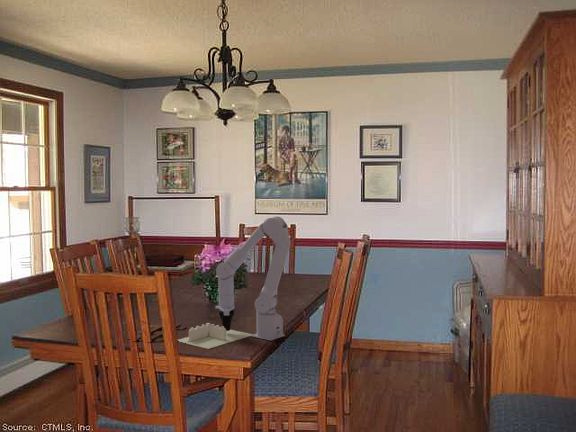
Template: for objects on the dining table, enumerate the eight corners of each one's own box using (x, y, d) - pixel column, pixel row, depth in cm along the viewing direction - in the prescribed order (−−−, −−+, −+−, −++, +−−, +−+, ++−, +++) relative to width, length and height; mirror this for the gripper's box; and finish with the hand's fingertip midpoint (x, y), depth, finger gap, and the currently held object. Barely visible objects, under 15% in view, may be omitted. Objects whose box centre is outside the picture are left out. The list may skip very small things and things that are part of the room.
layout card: (253, 335, 214) (253, 334, 214) (208, 349, 197) (208, 348, 197) (221, 328, 225) (221, 327, 225) (175, 341, 207) (175, 340, 207)
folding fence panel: (209, 336, 212) (209, 323, 212) (211, 335, 213) (211, 323, 212) (224, 340, 206) (224, 327, 206) (226, 339, 207) (225, 327, 207)
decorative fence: (188, 329, 227) (154, 326, 231) (188, 324, 227) (153, 322, 231) (159, 344, 205) (122, 342, 209) (159, 340, 205) (122, 337, 209)
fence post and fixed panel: (211, 335, 213) (211, 323, 213) (191, 341, 205) (190, 328, 205) (208, 335, 214) (208, 322, 214) (188, 341, 206) (187, 328, 206)
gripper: (215, 291, 222) (216, 326, 223) (215, 298, 208) (215, 335, 208) (234, 290, 223) (234, 325, 224) (234, 297, 208) (235, 335, 209)
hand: (226, 330), depth 216 cm, fingers closed
